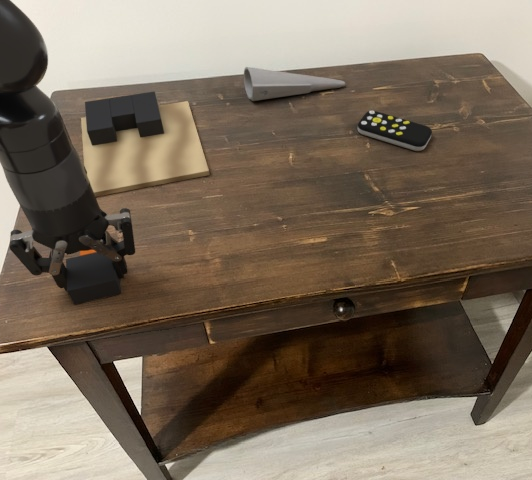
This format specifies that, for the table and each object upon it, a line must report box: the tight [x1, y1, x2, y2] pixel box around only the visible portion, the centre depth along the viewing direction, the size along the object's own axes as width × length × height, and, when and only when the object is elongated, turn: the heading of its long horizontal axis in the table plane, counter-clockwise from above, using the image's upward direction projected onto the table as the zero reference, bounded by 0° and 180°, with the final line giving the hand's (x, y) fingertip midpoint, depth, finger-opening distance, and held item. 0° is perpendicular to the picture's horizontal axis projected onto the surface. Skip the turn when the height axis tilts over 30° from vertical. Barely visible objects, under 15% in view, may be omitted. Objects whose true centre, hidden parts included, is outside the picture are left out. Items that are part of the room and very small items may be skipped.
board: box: [80, 100, 210, 198], centre depth 91 cm, size 19×21×1 cm
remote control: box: [357, 110, 433, 152], centre depth 95 cm, size 6×13×2 cm, turn 64°
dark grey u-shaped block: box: [84, 91, 164, 146], centre depth 93 cm, size 12×9×3 cm
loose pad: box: [65, 250, 122, 306], centre depth 71 cm, size 6×8×3 cm
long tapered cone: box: [243, 66, 346, 102], centre depth 103 cm, size 6×6×19 cm
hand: (95, 279), depth 71 cm, fingers closed on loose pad, 6 cm apart
